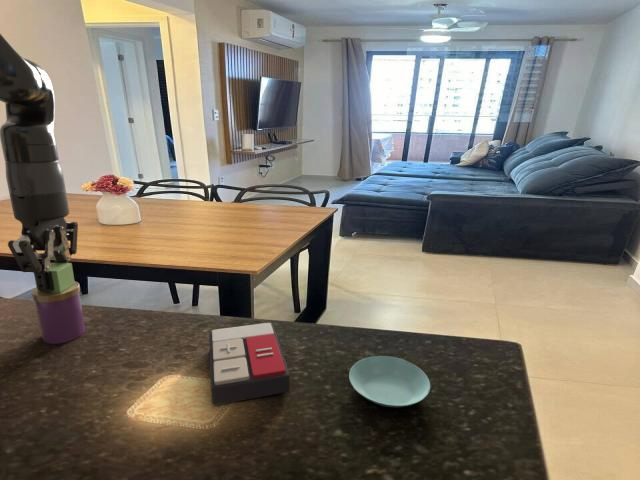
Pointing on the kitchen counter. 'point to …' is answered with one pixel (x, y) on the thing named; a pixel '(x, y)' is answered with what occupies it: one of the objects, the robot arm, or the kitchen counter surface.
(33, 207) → the robot arm
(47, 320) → the jar
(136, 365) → the kitchen counter surface
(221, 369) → the calculator
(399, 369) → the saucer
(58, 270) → the cube
